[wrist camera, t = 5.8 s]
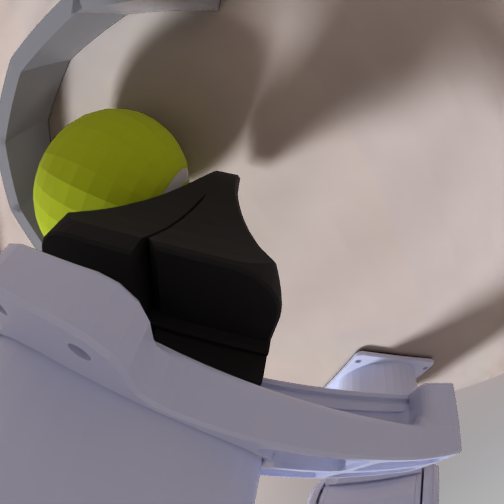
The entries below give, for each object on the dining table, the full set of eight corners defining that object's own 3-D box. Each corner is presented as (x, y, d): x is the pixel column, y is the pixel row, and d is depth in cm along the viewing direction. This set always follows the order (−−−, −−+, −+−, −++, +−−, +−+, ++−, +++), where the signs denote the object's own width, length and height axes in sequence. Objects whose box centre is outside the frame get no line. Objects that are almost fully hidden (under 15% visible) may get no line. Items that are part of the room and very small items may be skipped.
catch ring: (191, 291, 18) (174, 334, 16) (64, 253, 19) (39, 283, 16) (222, -13, 7) (192, -36, 5) (38, 18, 7) (-9, 26, 5)
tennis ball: (187, 234, 15) (134, 333, 10) (89, 188, 14) (14, 261, 9) (233, 125, 11) (168, 197, 6) (108, 79, 10) (-4, 121, 5)
